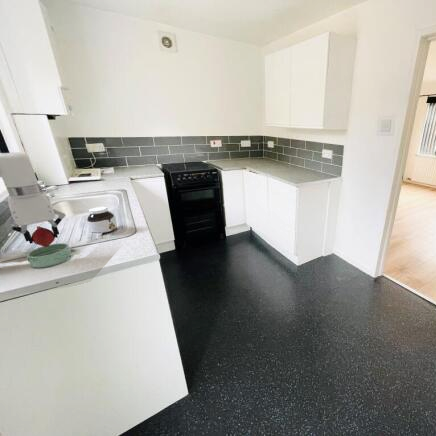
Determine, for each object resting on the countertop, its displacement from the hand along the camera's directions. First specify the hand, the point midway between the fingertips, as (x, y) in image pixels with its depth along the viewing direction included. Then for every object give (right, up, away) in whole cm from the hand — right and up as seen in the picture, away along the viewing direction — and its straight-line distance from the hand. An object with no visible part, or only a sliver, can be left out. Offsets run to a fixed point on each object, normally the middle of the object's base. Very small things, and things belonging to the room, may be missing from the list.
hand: (44, 239), depth 88 cm
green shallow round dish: (0, -8, +3) cm, 9 cm away
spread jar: (-1, +1, +30) cm, 30 cm away
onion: (0, -3, +1) cm, 3 cm away
